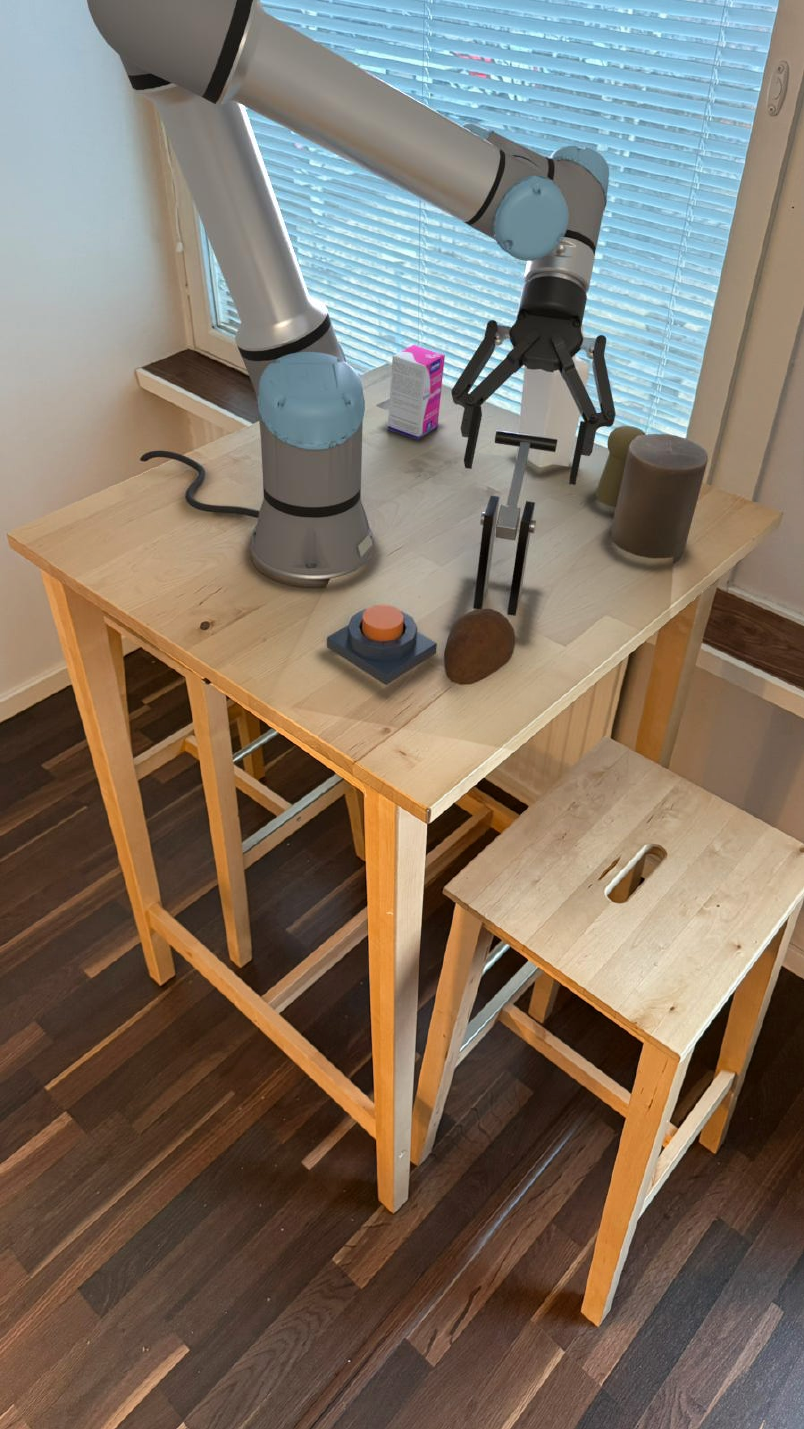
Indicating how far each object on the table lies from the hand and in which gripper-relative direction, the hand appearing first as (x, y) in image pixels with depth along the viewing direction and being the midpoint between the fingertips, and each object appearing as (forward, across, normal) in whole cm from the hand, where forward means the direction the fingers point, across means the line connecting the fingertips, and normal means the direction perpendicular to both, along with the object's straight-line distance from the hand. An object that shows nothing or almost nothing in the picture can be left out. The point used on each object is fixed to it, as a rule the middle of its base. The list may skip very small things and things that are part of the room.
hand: (519, 473), depth 117 cm
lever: (+2, 0, -1) cm, 2 cm away
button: (+21, -11, -7) cm, 25 cm away
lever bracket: (+15, 0, +5) cm, 16 cm away
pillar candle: (+1, +17, +19) cm, 26 cm away
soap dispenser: (-12, +1, +32) cm, 34 cm away
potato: (+23, -1, -2) cm, 23 cm away
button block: (+24, -11, -4) cm, 27 cm away
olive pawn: (-6, +12, +26) cm, 29 cm away
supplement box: (-15, -20, +36) cm, 43 cm away
